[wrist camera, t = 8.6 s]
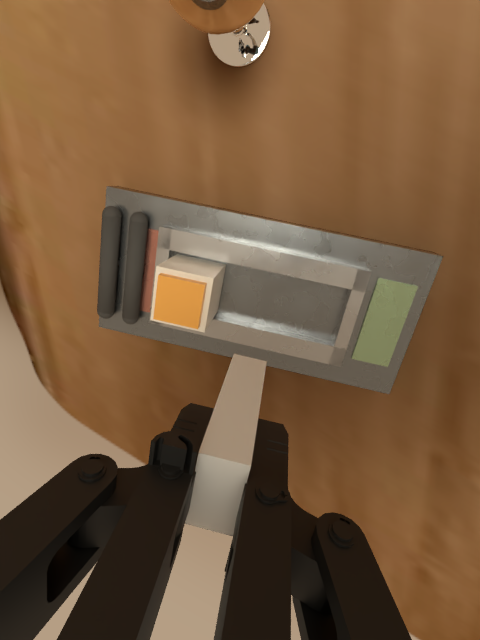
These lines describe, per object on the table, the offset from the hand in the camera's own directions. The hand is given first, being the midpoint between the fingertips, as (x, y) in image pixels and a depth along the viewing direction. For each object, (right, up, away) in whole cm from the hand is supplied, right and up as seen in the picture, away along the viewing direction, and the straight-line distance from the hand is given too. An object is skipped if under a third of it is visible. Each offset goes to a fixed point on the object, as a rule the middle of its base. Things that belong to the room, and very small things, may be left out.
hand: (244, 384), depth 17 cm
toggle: (-4, +6, +14) cm, 15 cm away
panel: (+1, +6, +15) cm, 16 cm away
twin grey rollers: (-10, +7, +14) cm, 19 cm away
